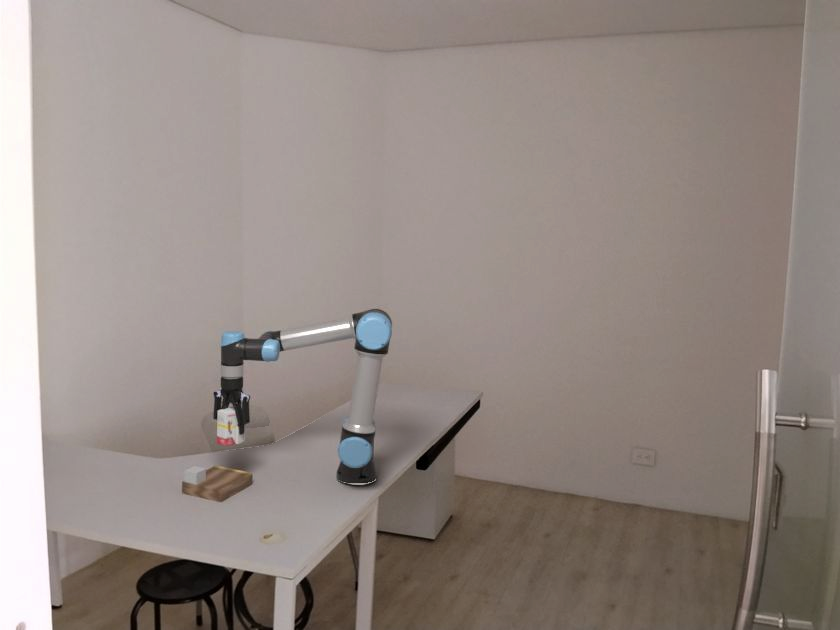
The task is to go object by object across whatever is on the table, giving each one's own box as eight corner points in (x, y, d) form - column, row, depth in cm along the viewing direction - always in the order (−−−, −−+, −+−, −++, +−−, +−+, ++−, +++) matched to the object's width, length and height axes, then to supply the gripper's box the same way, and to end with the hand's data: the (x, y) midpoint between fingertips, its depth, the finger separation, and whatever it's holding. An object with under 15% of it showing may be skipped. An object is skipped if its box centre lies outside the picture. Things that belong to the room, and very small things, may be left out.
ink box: (225, 446, 246) (225, 413, 245) (216, 443, 250) (216, 410, 248) (245, 441, 253) (245, 408, 252) (236, 438, 256) (237, 405, 255)
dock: (252, 484, 257) (252, 473, 257) (221, 502, 241) (221, 490, 240) (214, 476, 263) (215, 465, 262) (182, 493, 246) (182, 481, 246)
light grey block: (205, 479, 249) (205, 468, 248) (196, 484, 244) (196, 473, 244) (193, 477, 251) (193, 466, 250) (184, 481, 246) (184, 470, 245)
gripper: (261, 377, 248) (260, 442, 251) (215, 370, 255) (215, 434, 258) (249, 382, 241) (247, 448, 244) (202, 374, 248) (201, 439, 251)
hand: (231, 441), depth 251 cm, fingers closed on ink box, 6 cm apart
